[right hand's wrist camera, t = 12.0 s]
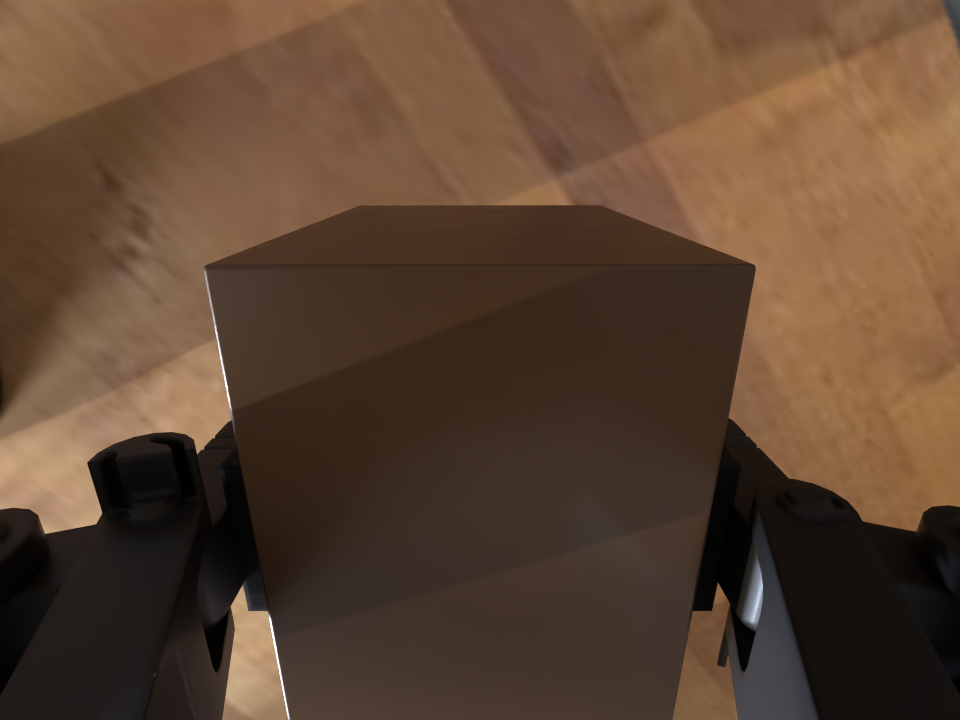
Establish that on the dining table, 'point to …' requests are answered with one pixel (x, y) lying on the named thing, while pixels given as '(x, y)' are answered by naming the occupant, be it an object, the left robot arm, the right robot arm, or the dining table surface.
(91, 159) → the dining table surface
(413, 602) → the post
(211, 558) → the right robot arm
